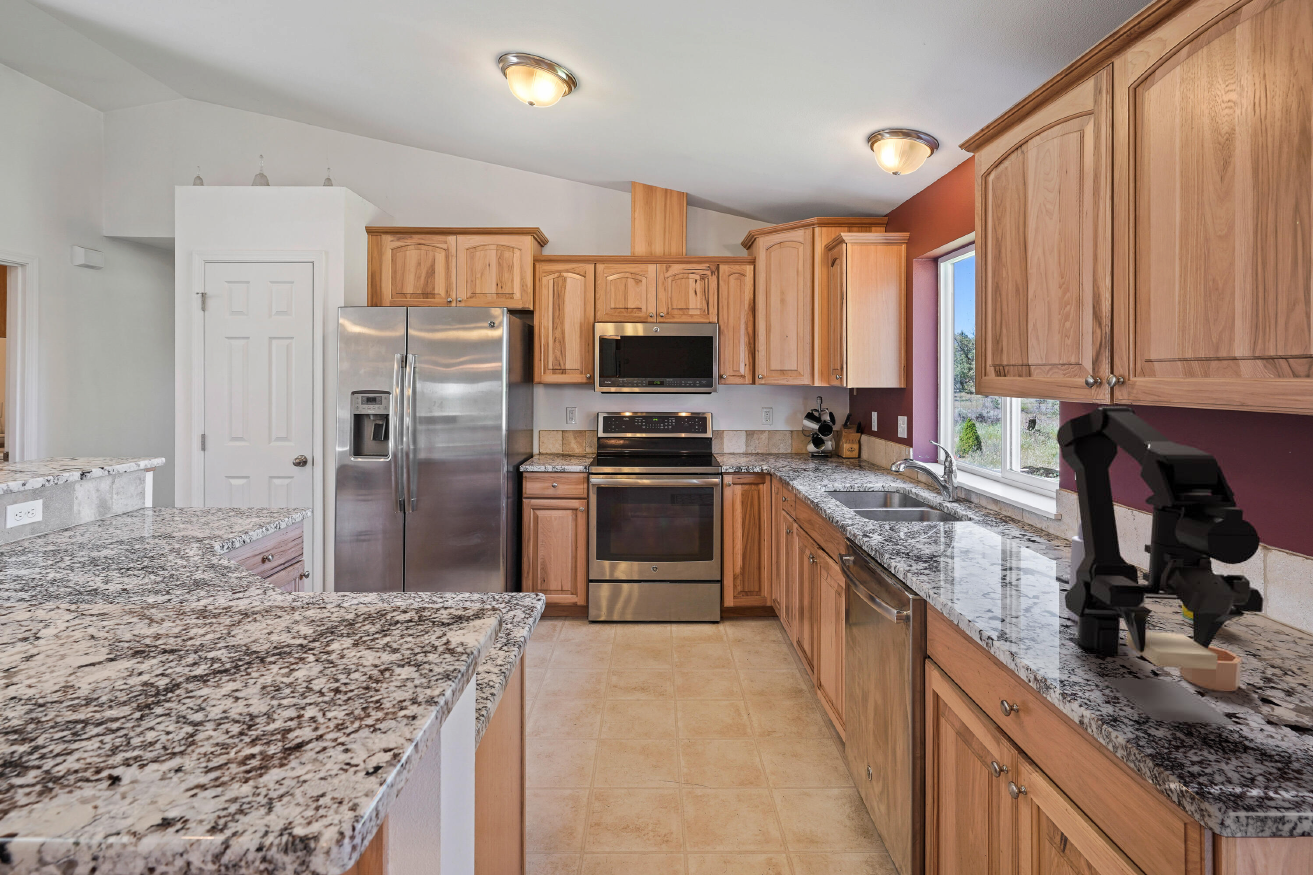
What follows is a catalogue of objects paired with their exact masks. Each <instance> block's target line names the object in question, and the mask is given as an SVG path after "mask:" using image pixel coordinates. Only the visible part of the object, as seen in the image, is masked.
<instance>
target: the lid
mask: <svg viewBox="0 0 1313 875" xmlns="http://www.w3.org/2000/svg"><path fill="white" fill-rule="evenodd" d="M1126 646H1127V647H1129V648H1131V649H1132V650H1134V651H1135V652H1136V653H1137V654H1139V655H1141V656H1142V657H1143V658H1145V659H1146V660H1148V661H1149V662H1151V663H1152V664H1153V665H1154V666H1156V667H1160V668H1161V667H1165V668H1179V669H1180V668H1200V669H1217V656H1218V655H1217V654H1215V653H1213V652H1212V651H1210V650H1208V649H1207V648H1205V647H1203V646H1202V645H1200V644H1198V643H1196V642H1195V641H1194V639H1192V638H1190V637H1188V636H1187V635H1185V634H1183V633H1177V632H1151V631H1146V639H1145V647H1144V652H1139V651H1138V650H1137V649H1136V647H1135V645H1134V642H1133V640H1132V638H1131V635H1130V633H1129V631H1128V630H1127V631H1126Z"/></svg>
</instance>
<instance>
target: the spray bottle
mask: <svg viewBox="0 0 1313 875" xmlns="http://www.w3.org/2000/svg"><path fill="white" fill-rule="evenodd" d="M1084 557H1085V550H1084V542H1083V534H1082V525H1081V521H1079V524H1078V534H1077V535H1076V536H1072V537H1071V544H1070V558H1069V559H1070V560H1069V562H1070V563H1069V577H1068V580H1069V581H1068V591H1069V590H1070V589H1071V588H1072V587H1073V585H1074V584H1075V583H1076V571H1077V569H1078V567H1079V566H1080V564H1081V562H1082V561H1083V559H1084ZM1067 616H1068V618H1070V619H1071V620H1073V621H1074V622H1077V623H1078V619H1079V617H1078V616H1077V615H1075V614H1074V613H1073V612H1071V611H1070V610H1069V609H1067Z"/></svg>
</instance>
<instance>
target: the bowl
mask: <svg viewBox="0 0 1313 875" xmlns="http://www.w3.org/2000/svg"><path fill="white" fill-rule="evenodd" d="M1207 649H1208V650H1210V651H1212V652H1213V653H1215V654H1217V655H1218V656H1217V669H1200V668H1180V667H1179V674H1180V675H1181V677H1182V679H1184V680H1186V681H1187V682H1189V683H1191V684H1193V685H1196V686H1198V687H1201V688H1205V689H1209V690H1212V691H1213V690H1214V691H1220V692H1234V691H1237V690H1238V688H1239V686H1240V685H1241V674H1242V663H1243V662H1242V661H1243V657H1240V656H1238V655H1237V654H1235V653H1234V652H1232V651H1230V650H1227V649H1223V648H1219V647H1215V646H1211V645H1209V647H1208V648H1207Z"/></svg>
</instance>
